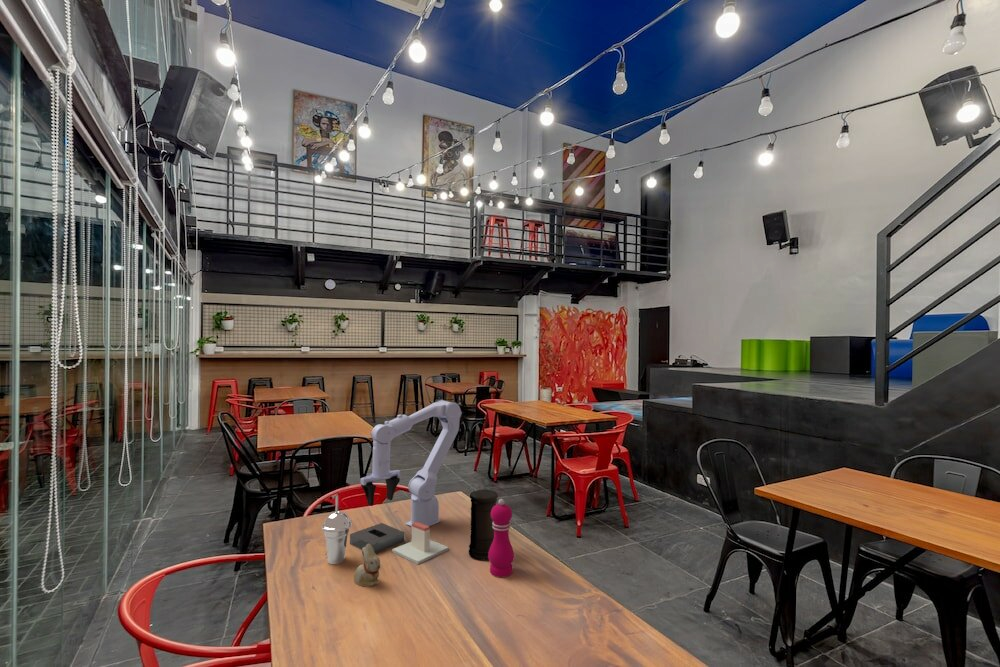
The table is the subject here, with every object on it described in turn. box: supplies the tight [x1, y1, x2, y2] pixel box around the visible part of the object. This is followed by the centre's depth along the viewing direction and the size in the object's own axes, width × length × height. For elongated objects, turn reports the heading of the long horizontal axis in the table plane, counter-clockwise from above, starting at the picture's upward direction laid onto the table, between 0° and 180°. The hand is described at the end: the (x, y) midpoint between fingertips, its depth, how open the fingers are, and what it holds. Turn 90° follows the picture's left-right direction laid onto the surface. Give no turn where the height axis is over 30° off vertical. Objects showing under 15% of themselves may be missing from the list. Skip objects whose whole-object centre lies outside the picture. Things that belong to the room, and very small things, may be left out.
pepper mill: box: [488, 498, 515, 578], centre depth 125 cm, size 7×7×20 cm
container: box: [468, 489, 499, 561], centre depth 136 cm, size 9×9×18 cm
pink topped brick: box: [411, 522, 431, 552], centre depth 138 cm, size 2×6×7 cm, turn 50°
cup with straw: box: [320, 493, 353, 565], centre depth 131 cm, size 8×9×20 cm
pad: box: [391, 539, 449, 565], centre depth 137 cm, size 12×12×1 cm
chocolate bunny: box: [353, 544, 381, 588], centre depth 119 cm, size 6×8×10 cm
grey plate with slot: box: [349, 522, 405, 555], centre depth 143 cm, size 12×12×3 cm
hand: (380, 502), depth 150 cm, fingers open, 7 cm apart
